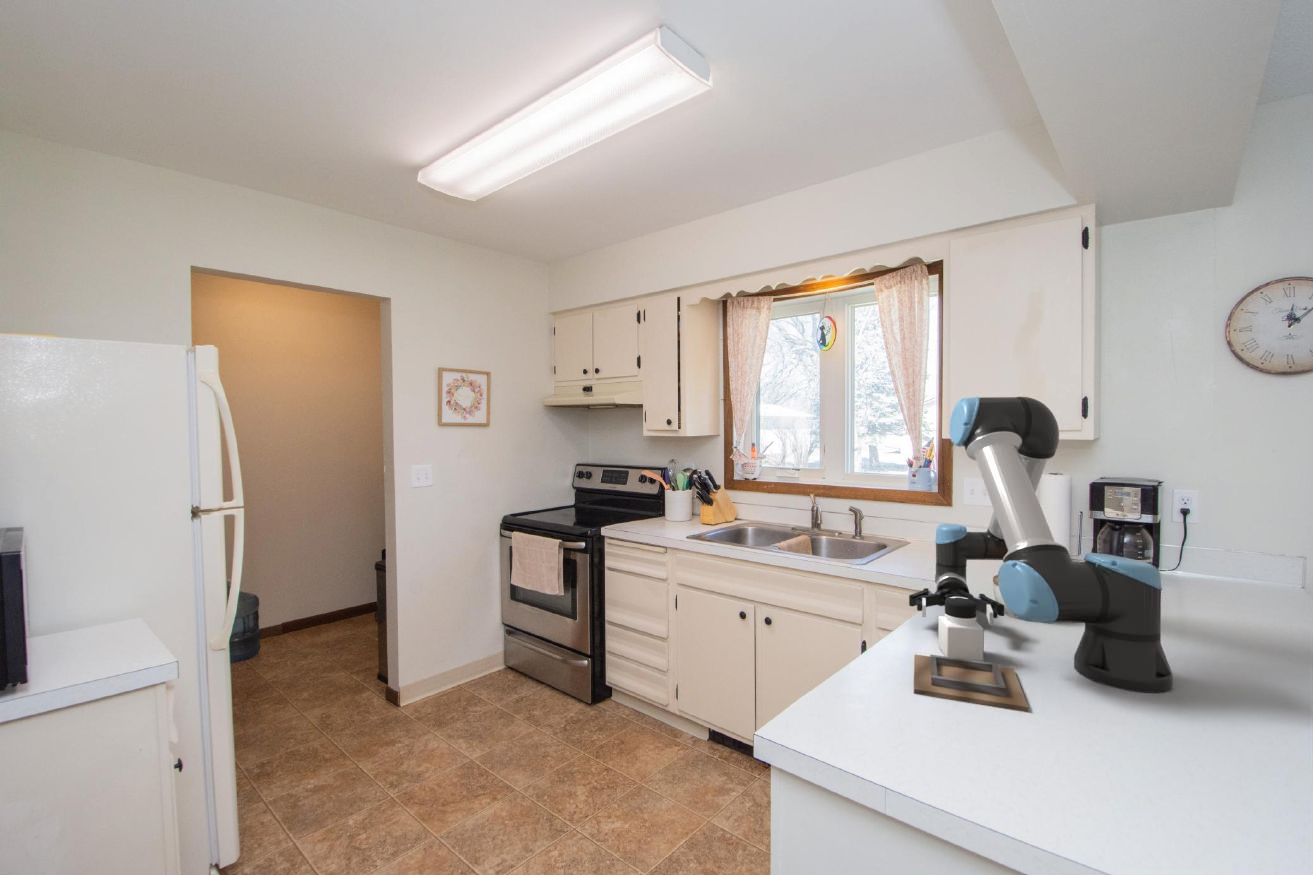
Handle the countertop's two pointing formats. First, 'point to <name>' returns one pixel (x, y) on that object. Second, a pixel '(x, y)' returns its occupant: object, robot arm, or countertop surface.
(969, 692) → the dock
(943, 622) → the medicine bottle
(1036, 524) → the robot arm
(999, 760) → the countertop surface
